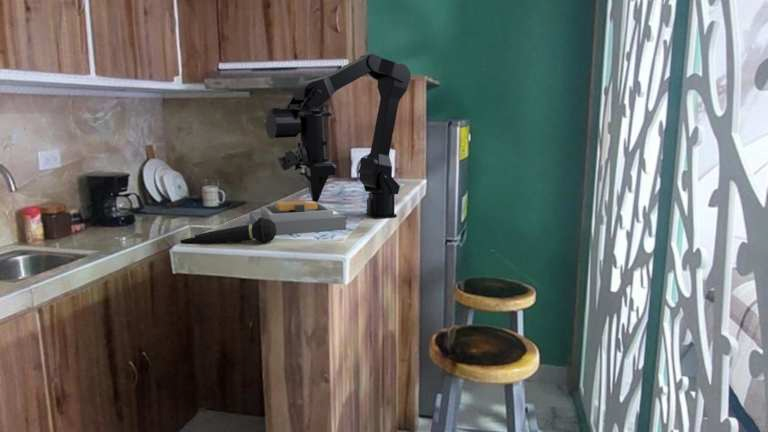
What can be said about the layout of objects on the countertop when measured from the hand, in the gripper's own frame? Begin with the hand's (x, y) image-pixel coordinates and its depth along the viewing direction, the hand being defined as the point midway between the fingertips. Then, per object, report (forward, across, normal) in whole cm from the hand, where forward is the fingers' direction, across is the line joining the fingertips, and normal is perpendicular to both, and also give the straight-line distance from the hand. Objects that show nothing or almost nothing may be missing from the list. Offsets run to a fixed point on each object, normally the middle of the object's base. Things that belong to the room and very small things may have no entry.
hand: (315, 202), depth 125 cm
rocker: (0, 0, -5) cm, 5 cm away
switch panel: (+6, 0, -5) cm, 7 cm away
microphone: (+6, +10, -21) cm, 24 cm away
